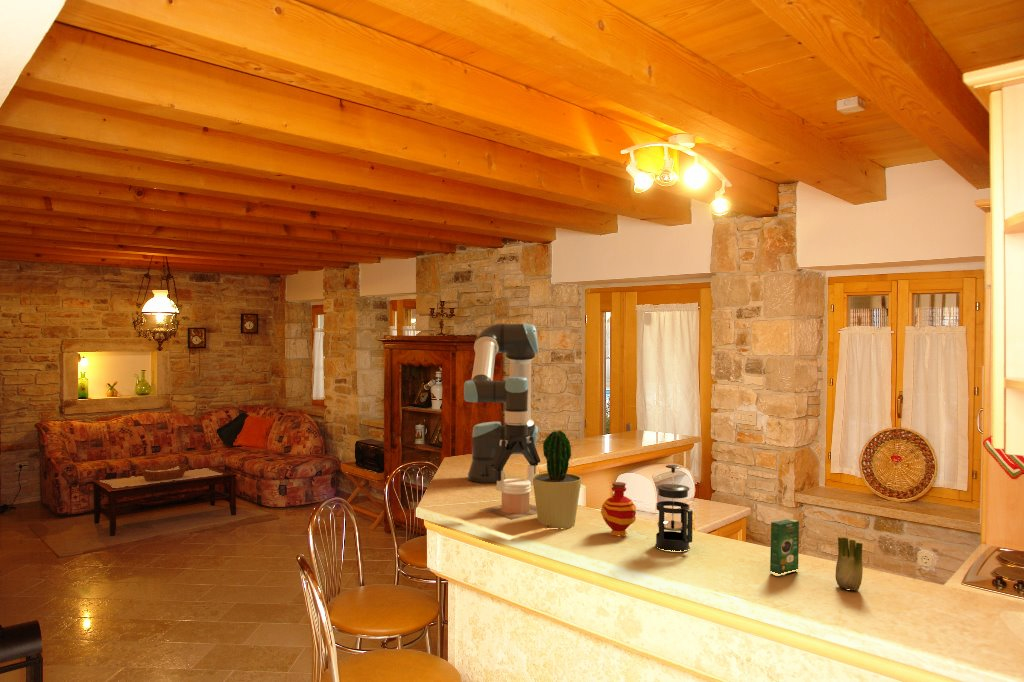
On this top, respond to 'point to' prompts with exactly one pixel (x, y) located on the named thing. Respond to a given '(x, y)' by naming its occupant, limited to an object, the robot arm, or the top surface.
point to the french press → (671, 538)
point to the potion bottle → (618, 510)
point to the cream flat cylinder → (516, 486)
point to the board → (498, 511)
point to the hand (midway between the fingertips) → (515, 487)
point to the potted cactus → (557, 484)
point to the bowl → (515, 503)
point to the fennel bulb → (849, 564)
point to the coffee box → (784, 546)
